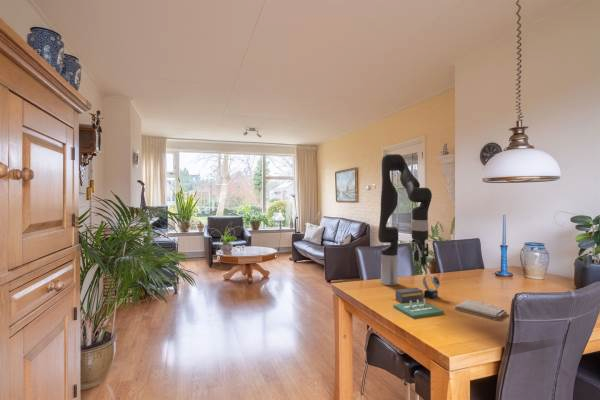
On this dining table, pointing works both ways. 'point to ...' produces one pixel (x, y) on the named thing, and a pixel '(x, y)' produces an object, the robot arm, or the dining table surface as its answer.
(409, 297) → the grey rectangular block
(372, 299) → the dining table surface
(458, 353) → the dining table surface
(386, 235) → the robot arm
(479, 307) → the washcloth
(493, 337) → the dining table surface
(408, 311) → the board
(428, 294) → the watch
